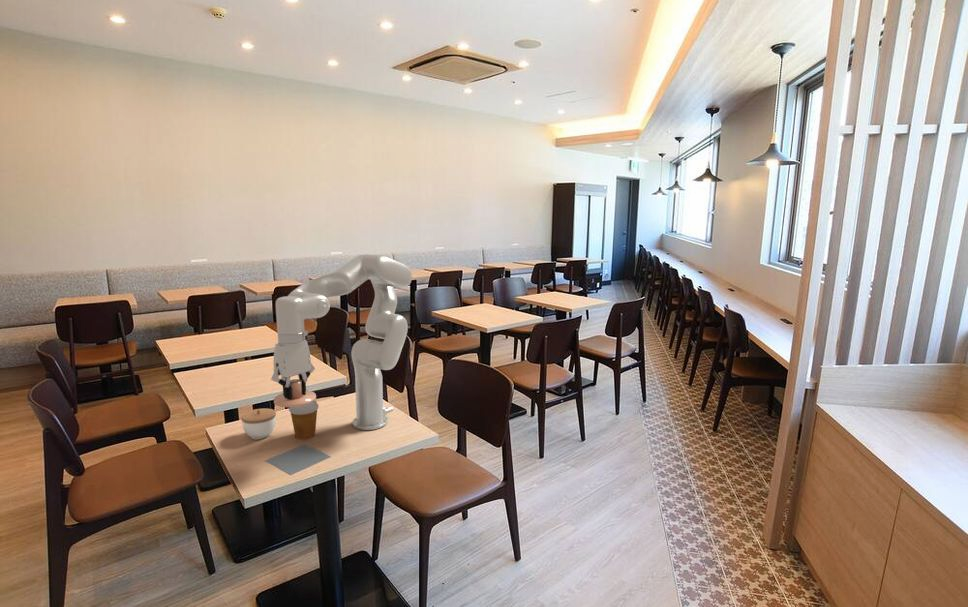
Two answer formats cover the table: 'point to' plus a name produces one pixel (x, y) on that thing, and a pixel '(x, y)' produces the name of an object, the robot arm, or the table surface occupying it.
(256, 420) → the lidded jar
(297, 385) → the lid
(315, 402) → the disposable coffee cup
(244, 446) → the table surface
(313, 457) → the mat
